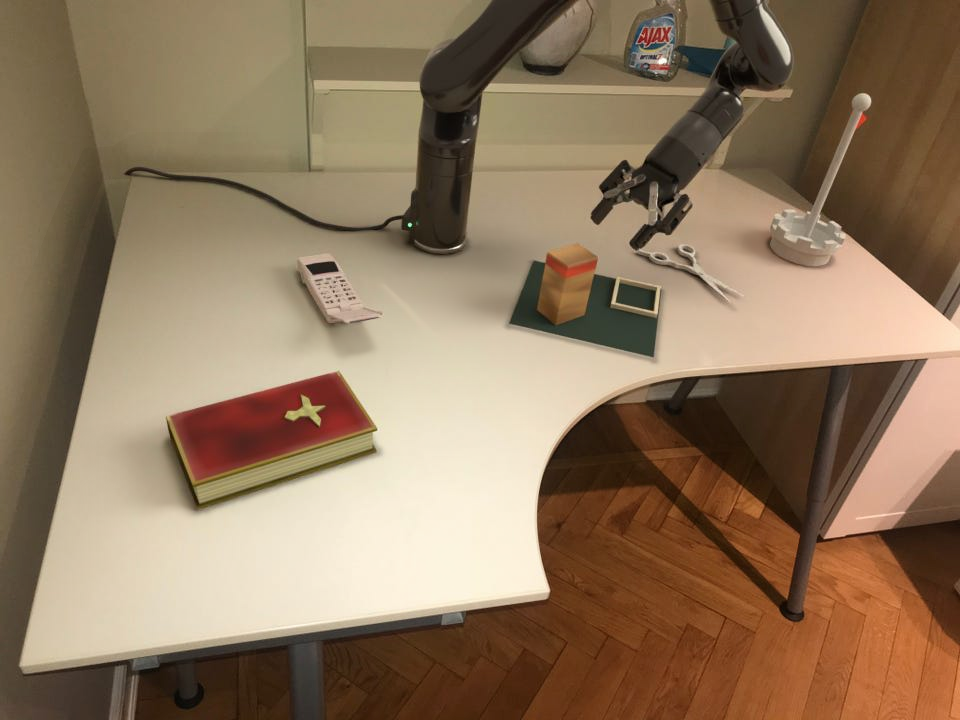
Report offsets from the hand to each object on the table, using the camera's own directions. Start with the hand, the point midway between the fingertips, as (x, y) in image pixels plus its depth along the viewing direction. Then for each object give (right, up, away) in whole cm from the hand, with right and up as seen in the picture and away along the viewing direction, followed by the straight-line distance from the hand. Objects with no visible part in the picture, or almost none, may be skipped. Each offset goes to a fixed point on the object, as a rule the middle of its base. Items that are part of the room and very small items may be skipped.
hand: (612, 234), depth 115 cm
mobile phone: (-42, -11, -1) cm, 43 cm away
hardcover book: (-45, -29, -25) cm, 59 cm away
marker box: (-8, -12, +3) cm, 14 cm away
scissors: (+18, -4, +18) cm, 26 cm away
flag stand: (+41, +2, +30) cm, 50 cm away
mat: (-3, -11, +6) cm, 13 cm away
